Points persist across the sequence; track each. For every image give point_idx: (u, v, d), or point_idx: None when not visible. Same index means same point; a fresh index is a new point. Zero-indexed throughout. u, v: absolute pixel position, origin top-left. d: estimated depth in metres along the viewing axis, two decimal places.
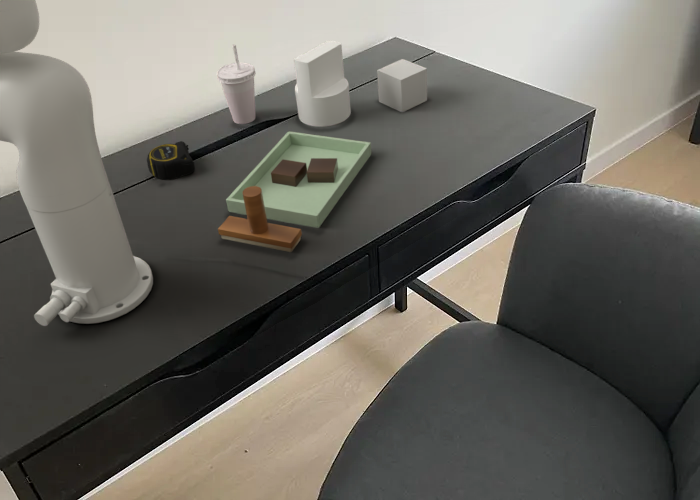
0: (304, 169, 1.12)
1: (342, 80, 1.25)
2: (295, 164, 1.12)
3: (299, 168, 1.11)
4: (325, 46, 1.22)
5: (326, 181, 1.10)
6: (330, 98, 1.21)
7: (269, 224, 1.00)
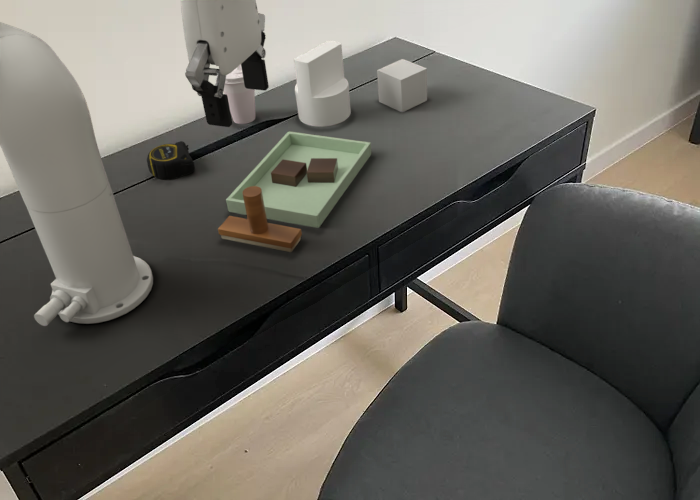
0: (304, 169, 1.12)
1: (342, 80, 1.25)
2: (295, 164, 1.12)
3: (299, 168, 1.11)
4: (325, 46, 1.22)
5: (326, 181, 1.10)
6: (330, 98, 1.21)
7: (269, 224, 1.00)
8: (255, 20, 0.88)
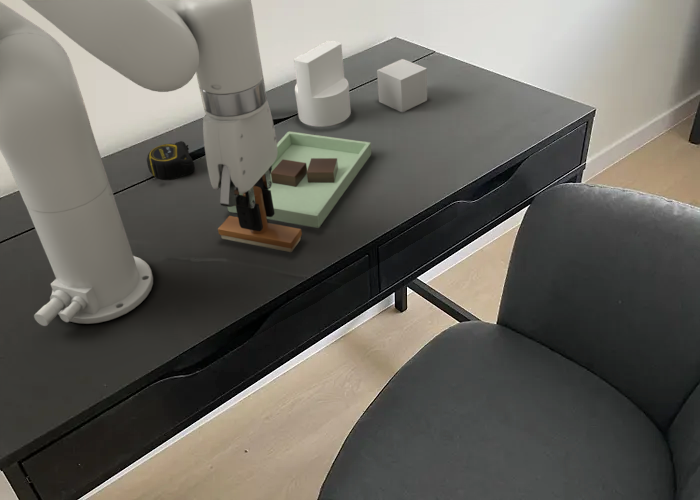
0: (304, 169, 1.12)
1: (342, 80, 1.25)
2: (295, 164, 1.12)
3: (299, 168, 1.11)
4: (325, 46, 1.22)
5: (326, 181, 1.10)
6: (330, 98, 1.21)
7: (269, 224, 1.00)
8: (272, 138, 0.94)
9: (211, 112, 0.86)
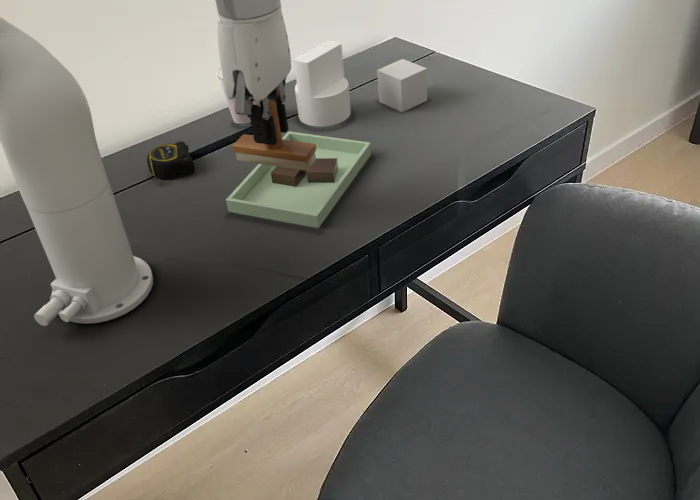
0: None
1: (342, 80, 1.25)
2: None
3: None
4: (325, 46, 1.22)
5: (326, 181, 1.10)
6: (330, 98, 1.21)
7: (283, 140, 1.01)
8: (286, 49, 0.94)
9: (226, 16, 0.86)
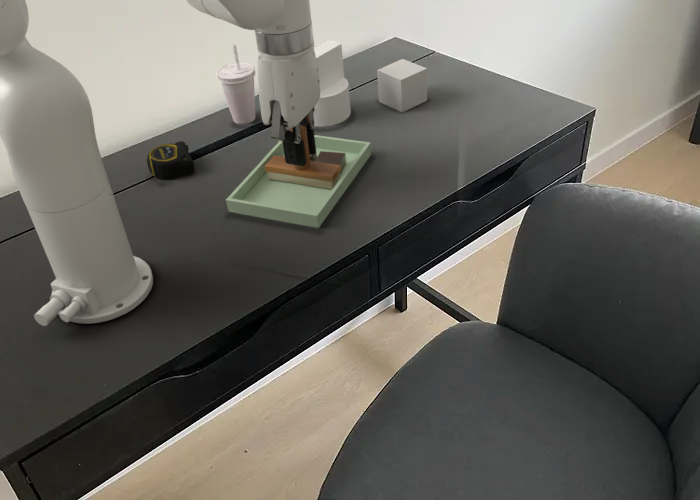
0: (314, 157, 1.14)
1: (342, 80, 1.25)
2: None
3: None
4: (325, 46, 1.22)
5: None
6: (330, 98, 1.21)
7: (311, 161, 1.11)
8: (316, 80, 1.04)
9: (265, 52, 0.96)
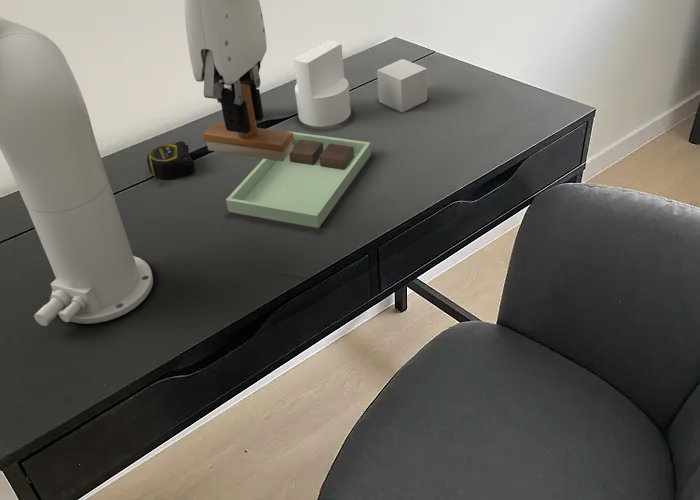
0: (321, 149, 1.16)
1: (342, 80, 1.25)
2: (312, 144, 1.16)
3: (316, 147, 1.15)
4: (325, 46, 1.22)
5: (337, 167, 1.13)
6: (330, 98, 1.21)
7: (258, 129, 0.93)
8: (260, 28, 0.87)
9: None
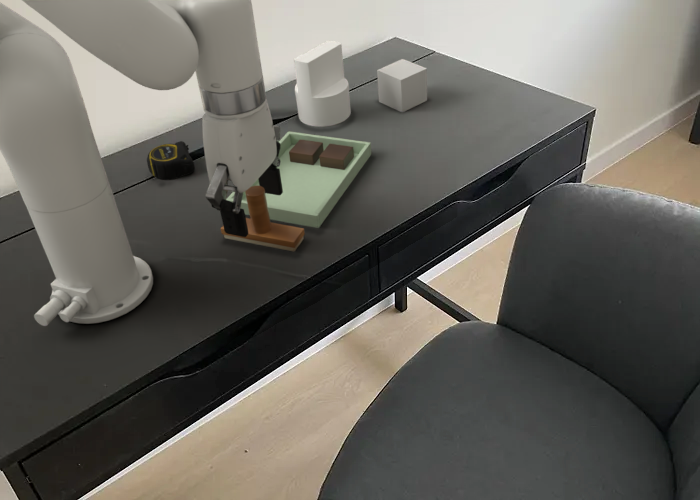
0: (321, 149, 1.16)
1: (342, 80, 1.25)
2: (312, 144, 1.16)
3: (316, 147, 1.15)
4: (325, 46, 1.22)
5: (337, 167, 1.13)
6: (330, 98, 1.21)
7: (272, 223, 1.00)
8: (271, 137, 0.94)
9: (210, 111, 0.86)
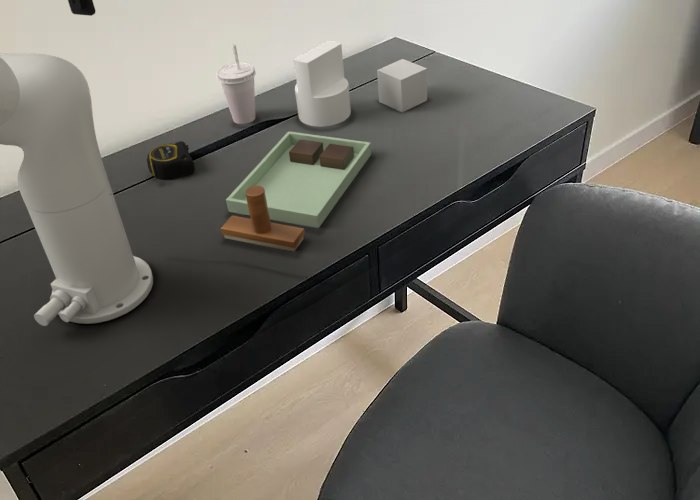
0: (321, 149, 1.16)
1: (342, 80, 1.25)
2: (312, 144, 1.16)
3: (316, 147, 1.15)
4: (325, 46, 1.22)
5: (337, 167, 1.13)
6: (330, 98, 1.21)
7: (272, 223, 1.00)
8: None
9: None
